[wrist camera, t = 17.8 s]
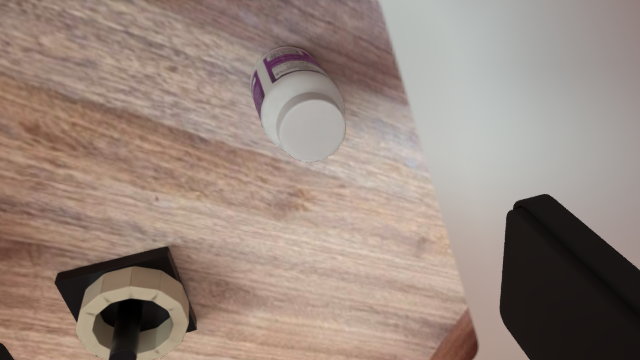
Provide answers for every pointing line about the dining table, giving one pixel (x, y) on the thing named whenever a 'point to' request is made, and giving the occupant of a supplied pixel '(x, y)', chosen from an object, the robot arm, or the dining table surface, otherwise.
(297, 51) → the pill bottle
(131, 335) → the peg stand
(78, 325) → the tape roll
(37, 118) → the dining table surface
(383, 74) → the dining table surface
